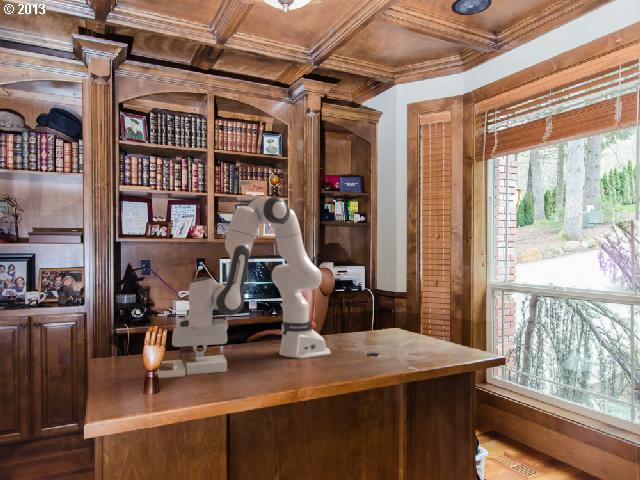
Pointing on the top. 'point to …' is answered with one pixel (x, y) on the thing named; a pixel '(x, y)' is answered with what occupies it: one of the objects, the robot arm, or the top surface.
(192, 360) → the tile
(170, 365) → the tile
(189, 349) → the can
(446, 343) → the top surface
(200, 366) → the white holder base
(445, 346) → the top surface
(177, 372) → the tray
